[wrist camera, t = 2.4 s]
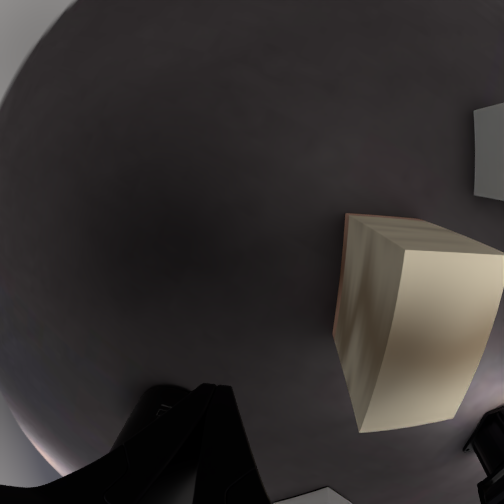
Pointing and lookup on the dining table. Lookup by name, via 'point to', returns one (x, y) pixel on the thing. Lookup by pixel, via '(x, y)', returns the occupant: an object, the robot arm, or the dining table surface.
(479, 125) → the grey block
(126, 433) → the supplement bottle
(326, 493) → the milk carton
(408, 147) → the dining table surface
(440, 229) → the birch block
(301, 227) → the dining table surface
